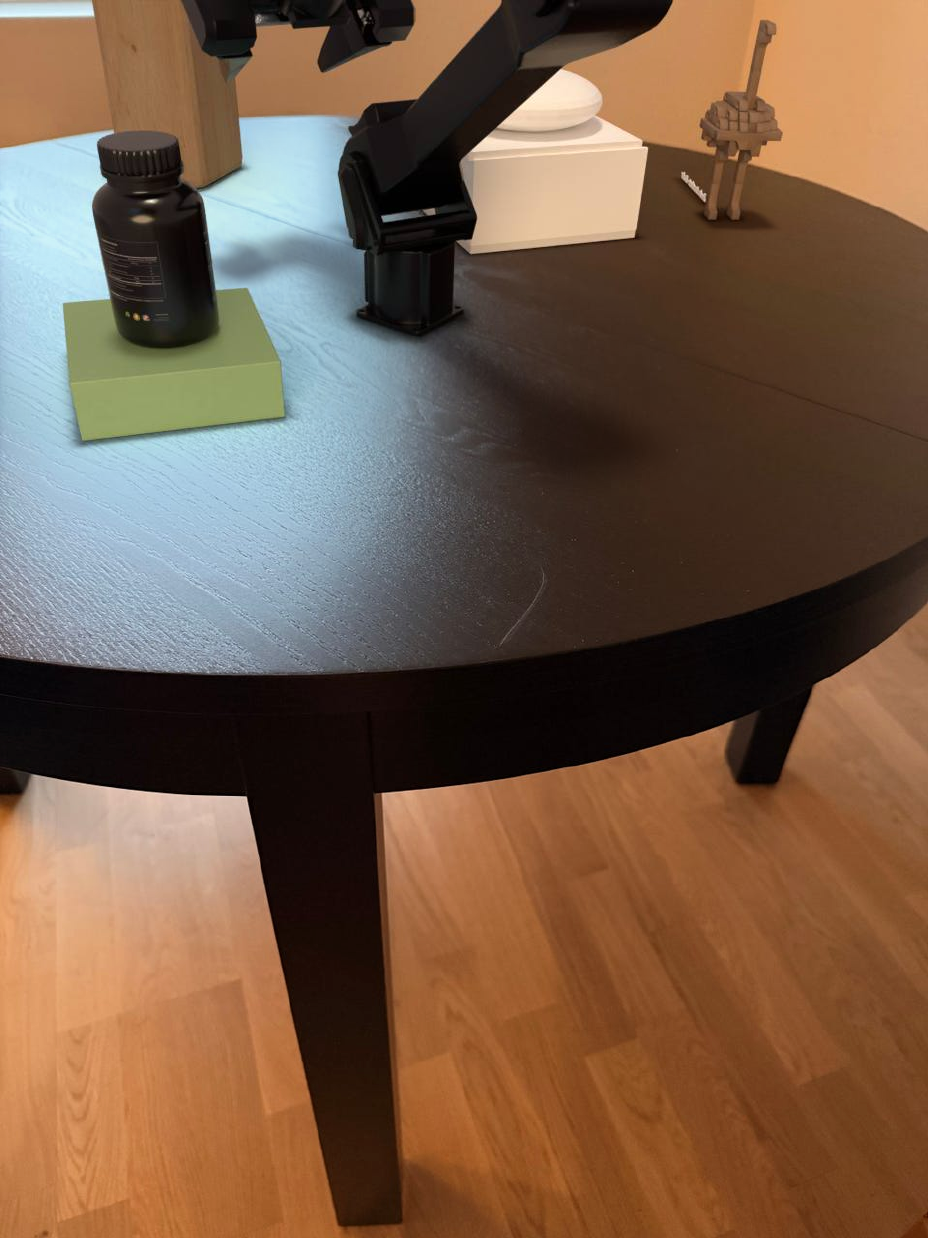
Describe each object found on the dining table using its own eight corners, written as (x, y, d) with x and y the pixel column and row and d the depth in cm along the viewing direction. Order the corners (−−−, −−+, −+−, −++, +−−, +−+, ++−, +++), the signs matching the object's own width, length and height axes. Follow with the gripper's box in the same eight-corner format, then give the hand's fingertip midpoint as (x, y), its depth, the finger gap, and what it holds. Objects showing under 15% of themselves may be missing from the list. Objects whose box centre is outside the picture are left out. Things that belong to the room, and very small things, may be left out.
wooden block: (117, 179, 105) (79, -47, 93) (166, 155, 113) (137, -57, 100) (203, 191, 103) (176, -38, 91) (247, 166, 111) (227, -49, 98)
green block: (252, 338, 76) (247, 286, 74) (285, 417, 67) (280, 361, 64) (74, 355, 73) (62, 302, 70) (82, 441, 63) (69, 383, 61)
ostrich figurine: (763, 228, 102) (809, 25, 90) (700, 228, 101) (738, 23, 89) (710, 178, 114) (745, -5, 103) (654, 178, 114) (682, -6, 102)
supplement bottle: (149, 304, 71) (119, 119, 63) (237, 318, 69) (218, 132, 62) (95, 341, 66) (55, 146, 58) (189, 358, 64) (161, 160, 57)
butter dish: (635, 237, 98) (661, 53, 88) (464, 254, 92) (472, 60, 82) (557, 184, 110) (572, 18, 100) (403, 197, 105) (403, 22, 95)
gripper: (397, -168, 77) (332, -20, 91) (167, -175, 68) (134, -10, 82) (452, -33, 77) (379, 94, 91) (229, -23, 68) (186, 116, 82)
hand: (274, 71), depth 87 cm, fingers open, 9 cm apart
